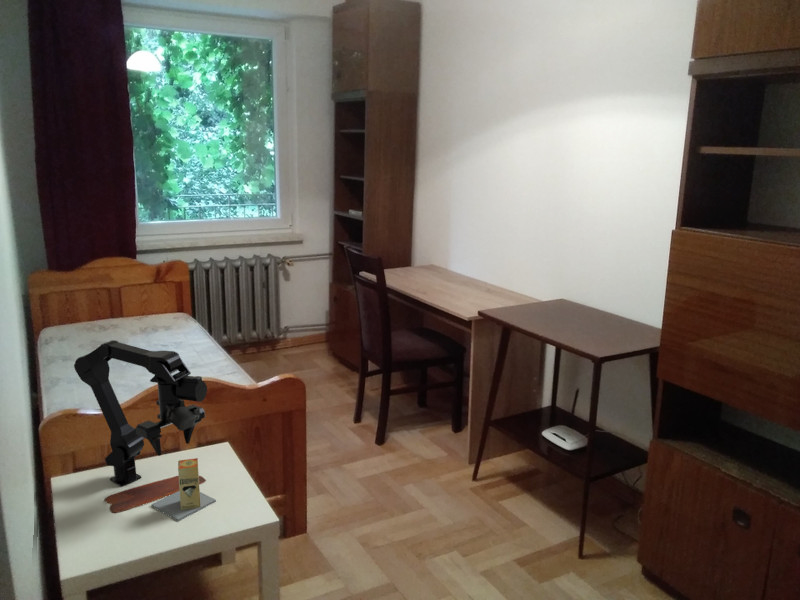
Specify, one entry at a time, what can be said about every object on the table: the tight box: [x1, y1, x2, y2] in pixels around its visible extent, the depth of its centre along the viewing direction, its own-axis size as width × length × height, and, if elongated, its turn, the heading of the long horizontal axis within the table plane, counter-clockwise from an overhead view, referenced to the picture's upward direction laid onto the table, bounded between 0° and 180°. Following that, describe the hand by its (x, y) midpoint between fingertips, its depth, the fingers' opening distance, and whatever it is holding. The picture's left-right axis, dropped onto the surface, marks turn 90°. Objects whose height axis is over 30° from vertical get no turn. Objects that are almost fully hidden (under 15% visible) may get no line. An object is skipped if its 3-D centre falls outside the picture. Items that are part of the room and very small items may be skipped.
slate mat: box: [150, 491, 217, 522], centre depth 172 cm, size 12×12×1 cm
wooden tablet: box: [104, 475, 207, 514], centre depth 179 cm, size 27×10×2 cm, turn 130°
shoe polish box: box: [177, 457, 201, 510], centre depth 170 cm, size 5×5×12 cm
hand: (173, 449), depth 178 cm, fingers open, 9 cm apart
